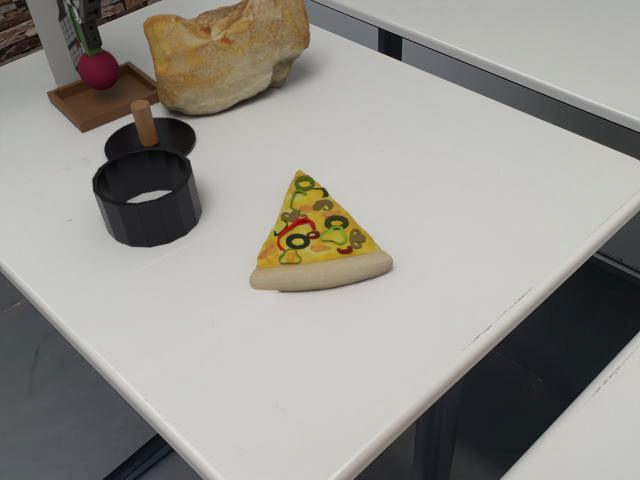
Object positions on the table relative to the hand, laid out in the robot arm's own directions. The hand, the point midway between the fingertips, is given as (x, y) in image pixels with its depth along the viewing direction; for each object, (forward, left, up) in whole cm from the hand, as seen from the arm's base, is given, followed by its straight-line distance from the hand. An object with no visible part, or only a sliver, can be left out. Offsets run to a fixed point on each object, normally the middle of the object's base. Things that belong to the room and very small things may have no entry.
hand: (90, 43), depth 95 cm
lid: (-1, -15, -8) cm, 17 cm away
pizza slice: (+5, -43, -9) cm, 44 cm away
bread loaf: (+16, -8, -9) cm, 20 cm away
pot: (-8, -29, -9) cm, 31 cm away
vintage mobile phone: (-1, +9, -9) cm, 13 cm away
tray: (0, 0, -9) cm, 9 cm away
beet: (0, 0, -7) cm, 7 cm away
